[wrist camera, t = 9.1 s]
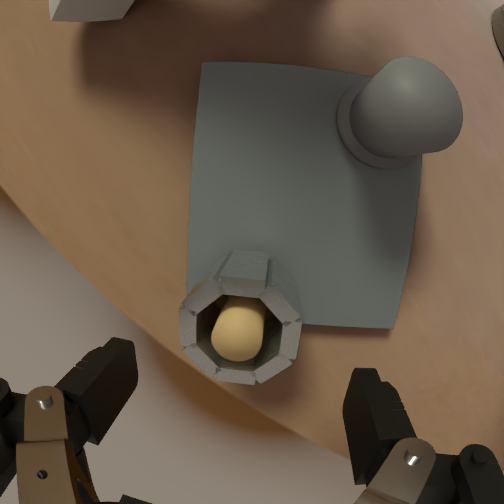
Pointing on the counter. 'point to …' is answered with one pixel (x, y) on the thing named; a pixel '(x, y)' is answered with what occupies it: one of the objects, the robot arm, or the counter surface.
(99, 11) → the faucet
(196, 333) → the tube
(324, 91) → the board
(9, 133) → the counter surface
